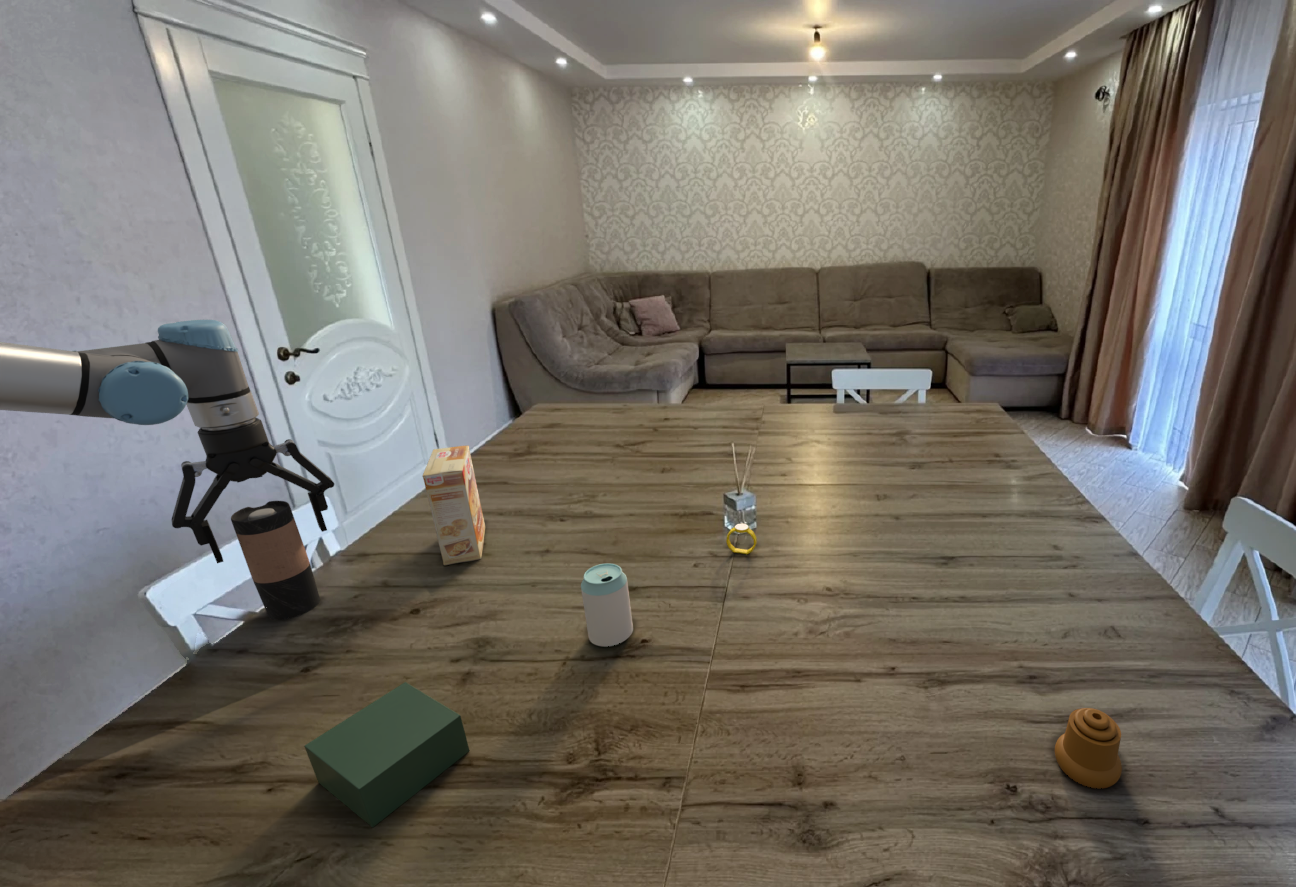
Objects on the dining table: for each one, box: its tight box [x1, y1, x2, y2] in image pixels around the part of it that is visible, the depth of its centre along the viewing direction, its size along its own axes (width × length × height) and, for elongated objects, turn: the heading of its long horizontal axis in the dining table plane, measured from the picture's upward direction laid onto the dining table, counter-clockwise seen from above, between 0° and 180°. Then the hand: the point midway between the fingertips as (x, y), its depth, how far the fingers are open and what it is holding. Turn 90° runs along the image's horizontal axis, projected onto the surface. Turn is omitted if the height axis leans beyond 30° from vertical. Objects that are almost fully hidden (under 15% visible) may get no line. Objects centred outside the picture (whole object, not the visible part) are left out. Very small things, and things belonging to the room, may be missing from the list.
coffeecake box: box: [421, 445, 486, 566], centre depth 123 cm, size 15×7×20 cm, turn 22°
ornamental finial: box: [1054, 707, 1123, 790], centre depth 74 cm, size 8×8×8 cm
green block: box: [303, 681, 470, 828], centre depth 75 cm, size 12×12×6 cm
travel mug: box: [230, 500, 321, 621], centre depth 102 cm, size 8×8×20 cm
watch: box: [725, 523, 758, 555], centre depth 122 cm, size 6×3×6 cm, turn 82°
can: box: [580, 562, 634, 648], centre depth 97 cm, size 7×7×12 cm
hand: (273, 543), depth 101 cm, fingers open, 13 cm apart
